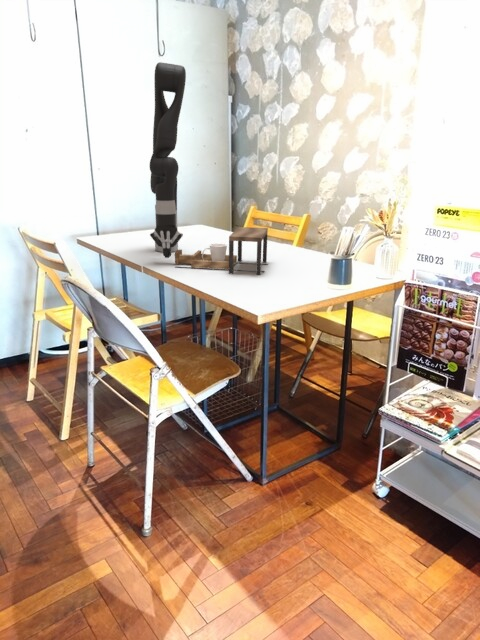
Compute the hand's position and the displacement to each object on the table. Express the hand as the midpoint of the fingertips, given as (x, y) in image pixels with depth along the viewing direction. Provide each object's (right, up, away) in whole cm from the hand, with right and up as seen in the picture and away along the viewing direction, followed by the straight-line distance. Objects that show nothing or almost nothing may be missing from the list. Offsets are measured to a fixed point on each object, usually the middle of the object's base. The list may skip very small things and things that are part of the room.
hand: (167, 257), depth 195 cm
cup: (+19, -4, -2) cm, 19 cm away
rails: (+22, -4, -2) cm, 22 cm away
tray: (+15, -3, -1) cm, 15 cm away
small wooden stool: (+32, -4, -4) cm, 32 cm away
